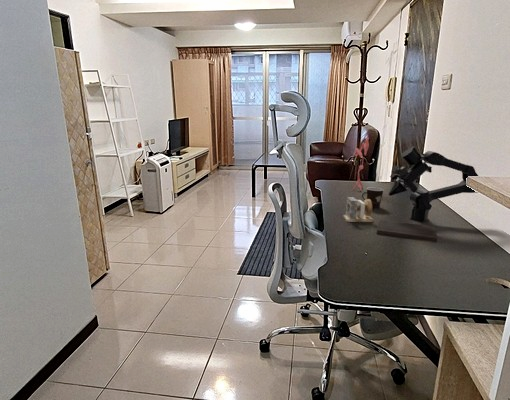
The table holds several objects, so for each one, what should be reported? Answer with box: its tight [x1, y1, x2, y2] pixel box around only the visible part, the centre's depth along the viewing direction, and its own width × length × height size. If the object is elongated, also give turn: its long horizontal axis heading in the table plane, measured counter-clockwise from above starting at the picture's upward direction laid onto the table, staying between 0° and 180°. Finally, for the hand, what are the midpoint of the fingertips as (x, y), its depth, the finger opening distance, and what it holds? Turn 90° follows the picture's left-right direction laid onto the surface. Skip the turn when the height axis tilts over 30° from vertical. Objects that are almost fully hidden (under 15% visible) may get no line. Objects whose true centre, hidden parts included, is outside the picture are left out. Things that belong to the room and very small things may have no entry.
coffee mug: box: [361, 186, 384, 209], centre depth 191 cm, size 12×9×10 cm
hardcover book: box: [376, 219, 438, 243], centre depth 153 cm, size 16×23×2 cm
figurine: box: [352, 136, 371, 191], centre depth 229 cm, size 15×26×35 cm, turn 158°
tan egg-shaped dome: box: [357, 198, 373, 217], centre depth 168 cm, size 9×8×8 cm
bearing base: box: [342, 196, 374, 223], centre depth 168 cm, size 12×7×10 cm, turn 91°
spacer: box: [356, 199, 365, 218], centre depth 168 cm, size 2×7×7 cm, turn 1°
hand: (389, 194), depth 167 cm, fingers closed
